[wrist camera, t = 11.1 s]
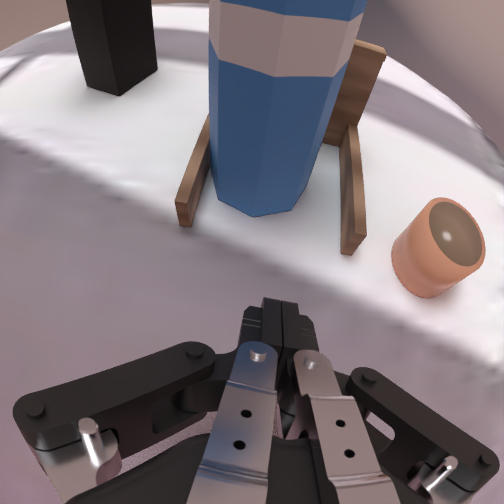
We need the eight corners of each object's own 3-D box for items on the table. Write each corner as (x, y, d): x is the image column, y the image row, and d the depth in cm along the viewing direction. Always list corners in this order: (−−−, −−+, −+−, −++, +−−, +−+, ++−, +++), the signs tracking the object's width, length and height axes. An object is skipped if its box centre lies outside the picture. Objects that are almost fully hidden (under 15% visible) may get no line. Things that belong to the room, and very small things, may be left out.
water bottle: (307, 151, 31) (372, -80, 9) (305, 225, 27) (416, -79, 5) (220, 138, 31) (231, -102, 9) (200, 209, 27) (189, -114, 5)
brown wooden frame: (351, 255, 26) (424, 154, 15) (179, 225, 26) (156, 102, 15) (346, 141, 33) (383, 48, 21) (217, 117, 33) (219, 15, 21)
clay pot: (428, 313, 24) (470, 289, 19) (377, 259, 26) (410, 224, 21) (457, 267, 27) (493, 239, 21) (412, 220, 29) (443, 184, 23)
